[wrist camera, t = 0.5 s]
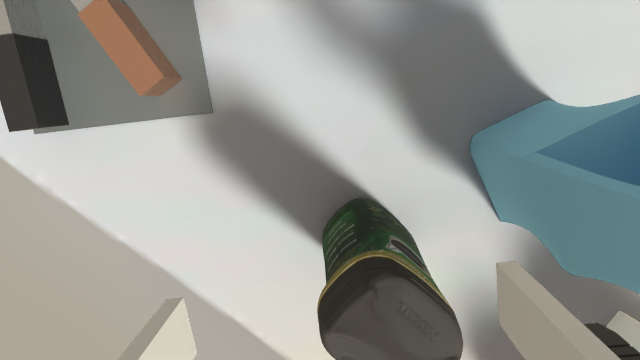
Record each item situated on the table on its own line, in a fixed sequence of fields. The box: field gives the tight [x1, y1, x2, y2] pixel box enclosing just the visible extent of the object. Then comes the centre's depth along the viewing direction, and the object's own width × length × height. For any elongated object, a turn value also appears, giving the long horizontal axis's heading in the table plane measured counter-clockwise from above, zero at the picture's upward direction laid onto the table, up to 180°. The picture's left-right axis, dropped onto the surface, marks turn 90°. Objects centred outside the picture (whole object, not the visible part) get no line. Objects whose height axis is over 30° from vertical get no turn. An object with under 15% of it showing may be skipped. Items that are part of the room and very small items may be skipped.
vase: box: [470, 95, 640, 294], centre depth 27 cm, size 10×10×25 cm
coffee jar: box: [317, 199, 463, 360], centre depth 32 cm, size 10×8×19 cm
